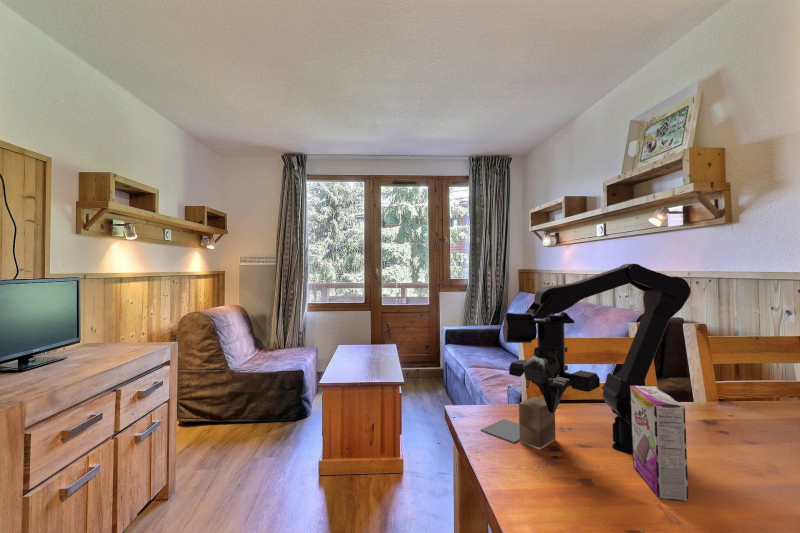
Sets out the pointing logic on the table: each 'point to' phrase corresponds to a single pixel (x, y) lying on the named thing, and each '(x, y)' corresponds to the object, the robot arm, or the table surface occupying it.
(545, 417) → the walnut block
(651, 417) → the candy bar box
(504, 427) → the mat
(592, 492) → the table surface
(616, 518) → the table surface
